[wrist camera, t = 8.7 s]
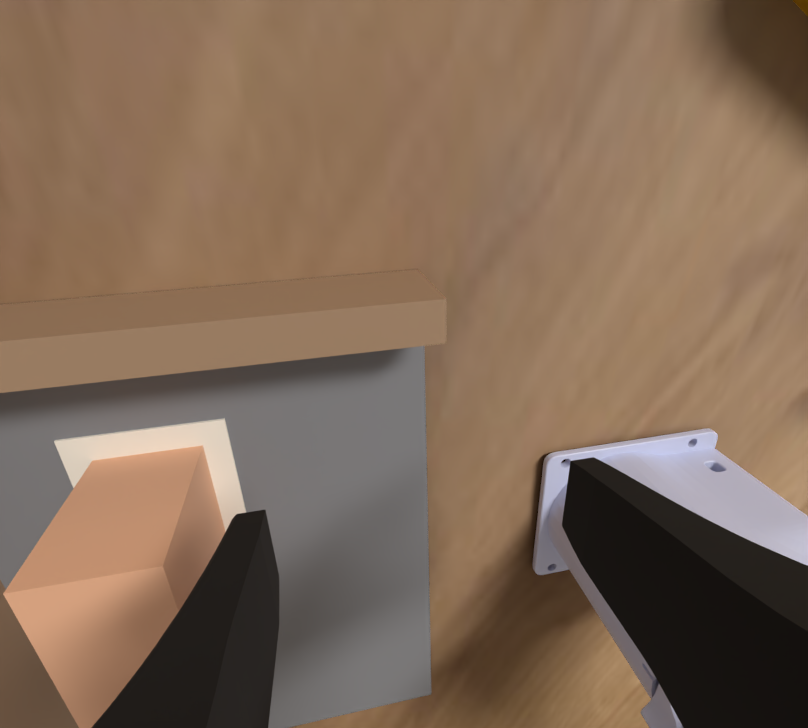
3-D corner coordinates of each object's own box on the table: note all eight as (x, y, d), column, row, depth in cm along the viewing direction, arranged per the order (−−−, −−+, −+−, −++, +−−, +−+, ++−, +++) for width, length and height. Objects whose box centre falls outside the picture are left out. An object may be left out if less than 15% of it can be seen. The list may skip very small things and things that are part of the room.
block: (236, 573, 22) (214, 714, 16) (142, 590, 21) (87, 743, 16) (202, 445, 19) (162, 566, 13) (92, 460, 18) (3, 593, 13)
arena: (417, 269, 18) (446, 298, 15) (428, 680, 29) (445, 755, 25) (-177, 319, 15) (-324, 372, 12) (81, 759, 26) (47, 857, 22)
